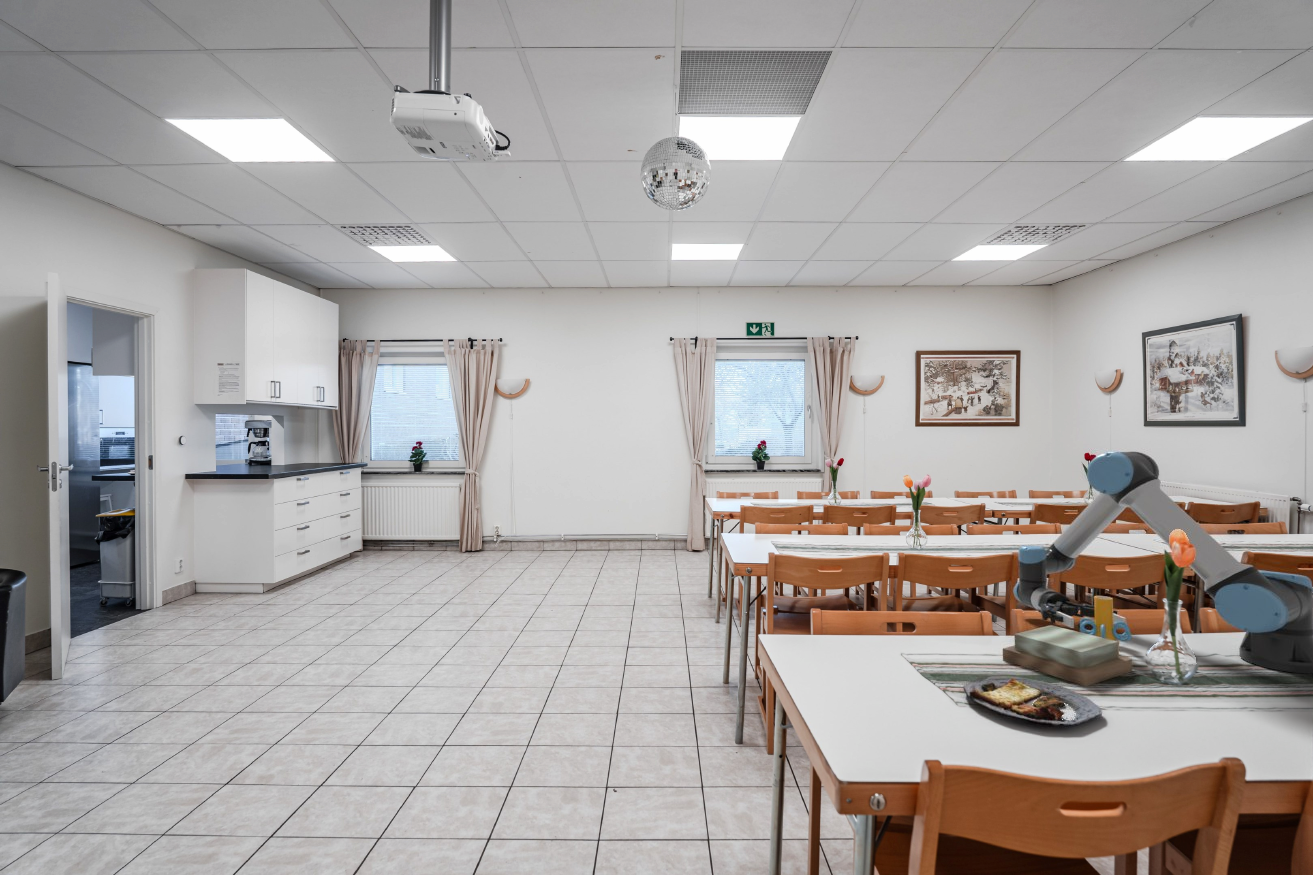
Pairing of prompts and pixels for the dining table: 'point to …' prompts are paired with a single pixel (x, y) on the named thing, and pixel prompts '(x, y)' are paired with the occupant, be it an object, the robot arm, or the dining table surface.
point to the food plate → (1030, 699)
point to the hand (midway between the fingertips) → (1098, 623)
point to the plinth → (1070, 670)
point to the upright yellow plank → (1105, 621)
